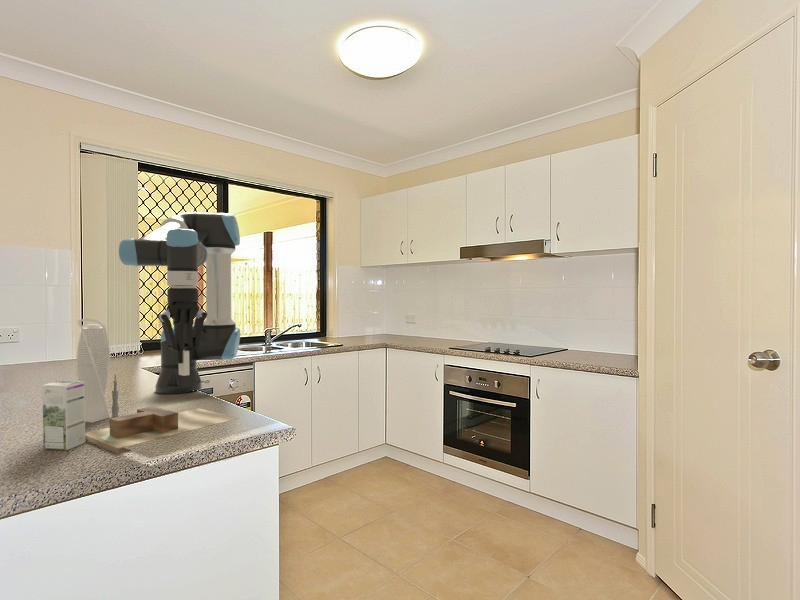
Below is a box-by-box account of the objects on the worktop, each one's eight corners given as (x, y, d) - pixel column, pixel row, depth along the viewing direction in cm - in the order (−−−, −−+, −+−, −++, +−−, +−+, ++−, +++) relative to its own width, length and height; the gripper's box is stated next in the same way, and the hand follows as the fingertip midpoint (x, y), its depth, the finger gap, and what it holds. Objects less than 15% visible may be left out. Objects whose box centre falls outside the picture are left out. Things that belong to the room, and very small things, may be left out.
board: (198, 412, 133) (198, 408, 133) (239, 422, 122) (239, 418, 122) (81, 438, 108) (81, 433, 108) (118, 454, 97) (118, 448, 97)
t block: (153, 421, 118) (153, 406, 118) (178, 429, 112) (178, 412, 112) (102, 432, 109) (101, 416, 109) (126, 441, 102) (126, 423, 102)
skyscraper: (94, 429, 116) (94, 319, 116) (67, 427, 118) (67, 319, 117) (120, 420, 124) (120, 317, 124) (95, 418, 126) (95, 317, 126)
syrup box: (86, 442, 105) (86, 379, 105) (65, 451, 99) (65, 384, 99) (63, 441, 106) (63, 379, 106) (41, 450, 100) (41, 384, 100)
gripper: (166, 287, 114) (167, 380, 115) (213, 287, 125) (214, 372, 126) (151, 287, 119) (152, 377, 120) (197, 287, 129) (198, 369, 130)
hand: (184, 374), depth 123 cm, fingers closed
